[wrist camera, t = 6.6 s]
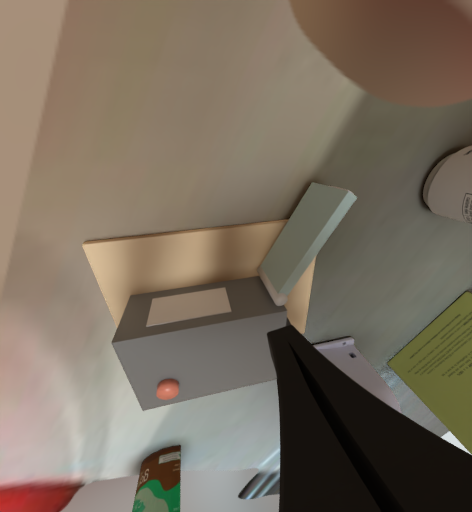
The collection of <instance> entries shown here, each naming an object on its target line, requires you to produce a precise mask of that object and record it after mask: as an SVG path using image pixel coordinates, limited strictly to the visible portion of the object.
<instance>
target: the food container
mask: <svg viewBox="0 0 472 512" xmlns="http://www.w3.org/2000/svg"><path fill="white" fill-rule="evenodd" d="M180 466H181V445H179V446H172V447H169V448H165V449H162V450H159V451H157V452H155V453H153V454H151V455H150V456H148V457H147V458H146V459H145V460H144V461H143V463H142V465H141V470H140V475H139V480H138V485H137V490H136V495H135V500H134V505H133V510H132V512H180Z"/></svg>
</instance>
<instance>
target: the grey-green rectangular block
mask: <svg viewBox="0 0 472 512" xmlns="http://www.w3.org/2000/svg"><path fill="white" fill-rule="evenodd" d="M356 198H357V197H356V196H355V195H354V193H352V192H351V191H349V190H347V189H343V188H339V187H335V186H331V185H330V186H326V185H322V184H318V183H315V182H312V183H311V185H310V186H309V188H308V190H307V191H306V193H305V195H304V196H303V198H302V199H301V201H300V203H299V204H298V206H297V207H296V209H295V211H294V212H293V214H292V216H291V217H290V219H289V220H288V222H287V224H286V225H285V227H284V228H283V230H282V232H281V233H280V235H279V237H278V238H277V240H276V241H275V243H274V245H273V246H272V248H271V249H270V251H269V253H268V254H267V256H266V258H265V259H264V261H263V262H262V264H261V266H259V267H258V269H257V272H258V274H259V276H260V278H261V280H262V281H263V283H264V285H265V287H266V288H267V290H268V292H269V294H270V296H271V297H272V299H273V301H274V303H275V304H276V305H277V306H282V305H284V304H285V303H286V302H287V300H288V298H287V296H288V294H289V293H290V292H291V290H292V289H293V287H294V286H295V284H296V283H297V282H298V280H299V279H300V277H301V276H302V275H303V273H304V272H305V270H306V269H307V268H308V266H309V265H310V263H311V262H312V261H313V259H314V258H315V256H316V255H317V253H318V252H319V251H320V249H321V248H322V246H323V245H324V244H325V242H326V241H327V239H328V238H329V237H330V235H331V234H332V232H333V231H334V230H335V228H336V227H337V225H338V224H339V222H340V221H341V220H342V218H343V217H344V215H345V214H346V213H347V211H348V210H349V208H350V207H351V206H352V204H353V203H354V201H355V200H356Z"/></svg>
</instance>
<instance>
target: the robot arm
mask: <svg viewBox="0 0 472 512" xmlns="http://www.w3.org/2000/svg"><path fill="white" fill-rule="evenodd" d="M267 339H268V344H269V349H270V354H271V358H272V361H273V364H274V367H275V371H276V376H277V385H278V396H279V412H280V500H279V501H280V502H279V512H472V455H470V454H469V453H467V452H465V451H463V450H461V449H459V448H458V447H456V446H454V445H453V444H451V443H449V442H447V441H446V440H443V439H442V438H441V437H439V436H437V435H435V434H434V433H432V432H430V431H429V430H427V429H425V428H424V427H422V426H420V425H419V424H417V423H416V422H414V421H413V420H411V419H409V418H408V417H406V416H405V415H403V414H402V412H401V408H400V406H399V403H398V401H397V399H396V397H395V395H394V394H393V392H392V390H391V389H390V388H389V386H388V385H387V384H386V382H385V381H384V380H383V379H382V378H381V377H380V375H379V374H378V373H377V372H376V371H375V369H374V368H373V367H372V366H371V365H370V364H369V362H368V361H367V360H366V359H365V358H364V356H363V355H362V354H361V353H360V352H359V351H358V349H357V348H356V347H355V346H354V345H353V344H354V339H353V338H352V337H349V338H345V339H340V340H335V341H331V342H326V343H321V344H317V345H312V344H311V343H310V342H309V341H308V340H307V339H306V338H305V337H304V336H303V335H302V334H301V333H300V332H299V331H298V330H297V329H296V328H295V327H294V326H293V325H289V326H285V327H282V328H279V329H276V330H273V331H270V332H268V333H267Z"/></svg>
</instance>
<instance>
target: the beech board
mask: <svg viewBox="0 0 472 512" xmlns="http://www.w3.org/2000/svg"><path fill="white" fill-rule="evenodd" d="M288 220H289V219H286V220H277V221H268V222H259V223H250V224H241V225H232V226H222V227H213V228H204V229H195V230H186V231H177V232H168V233H159V234H150V235H141V236H132V237H123V238H114V239H105V240H96V241H87V242H84V243H83V244H82V246H83V249H84V251H85V253H86V256H87V258H88V260H89V263H90V265H91V267H92V270H93V272H94V274H95V277H96V279H97V282H98V284H99V286H100V289H101V291H102V293H103V296H104V298H105V300H106V303H107V305H108V308H109V310H110V312H111V315H112V317H113V319H114V322H115V324H116V326H117V328H118V325H119V323H120V320H121V318H122V315H123V313H124V310H125V308H126V305H127V303H128V300H129V298H130V295H137V294H143V293H150V292H156V291H163V290H169V289H176V288H183V287H189V286H196V285H202V284H209V283H215V282H222V281H229V280H235V279H242V278H248V277H255V276H259V274H258V272H257V269H258V267H259V266H261V264H262V262H263V261H264V259H265V258H266V256H267V254H268V253H269V251H270V249H271V248H272V246H273V245H274V243H275V241H276V240H277V238H278V237H279V235H280V233H281V232H282V230H283V228H284V227H285V225H286V224H287V222H288ZM315 259H316V256H315V258H314V259H313V261H312V262H311V263H310V265H309V266H308V268H307V269H306V270H305V272H304V273H303V275H302V276H301V277H300V279H299V280H298V282H297V283H296V284H295V286H294V287H293V289H292V290H291V292H290V293H289V294H288V296H287V298H288V300H287V302H286V303H285V304H284V306H285V308H286V309H287V318H288V319H289V321H290V323H291V325H293V326H294V327H295V328H296V329H297V330H298V331H299V332H300V333H301V334H303V333H305V326H306V319H307V312H308V306H309V299H310V292H311V286H312V279H313V272H314V266H315Z"/></svg>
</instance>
